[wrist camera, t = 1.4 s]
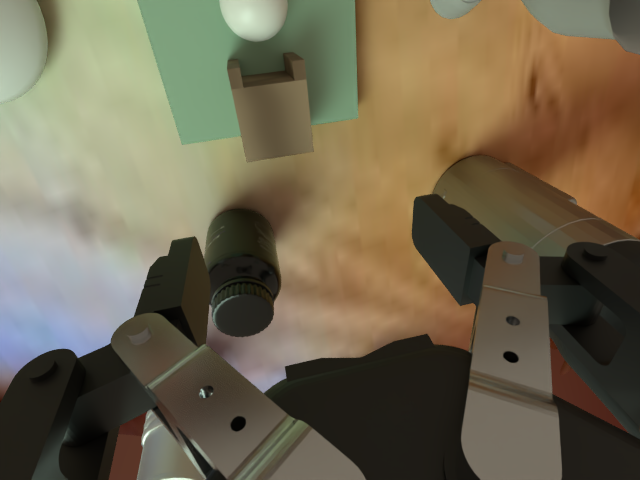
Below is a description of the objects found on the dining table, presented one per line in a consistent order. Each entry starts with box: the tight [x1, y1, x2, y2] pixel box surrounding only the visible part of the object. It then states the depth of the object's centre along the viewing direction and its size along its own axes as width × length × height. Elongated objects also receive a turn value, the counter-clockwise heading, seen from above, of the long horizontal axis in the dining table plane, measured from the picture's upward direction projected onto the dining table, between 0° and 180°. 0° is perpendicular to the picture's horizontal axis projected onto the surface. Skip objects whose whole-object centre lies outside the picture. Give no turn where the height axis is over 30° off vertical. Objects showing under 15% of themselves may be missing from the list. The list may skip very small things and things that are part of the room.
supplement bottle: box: [204, 209, 281, 337], centre depth 33 cm, size 7×7×12 cm
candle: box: [137, 410, 204, 480], centre depth 40 cm, size 7×7×15 cm
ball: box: [219, 0, 288, 42], centre depth 23 cm, size 4×4×4 cm
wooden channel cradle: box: [227, 52, 314, 162], centre depth 27 cm, size 5×6×5 cm
